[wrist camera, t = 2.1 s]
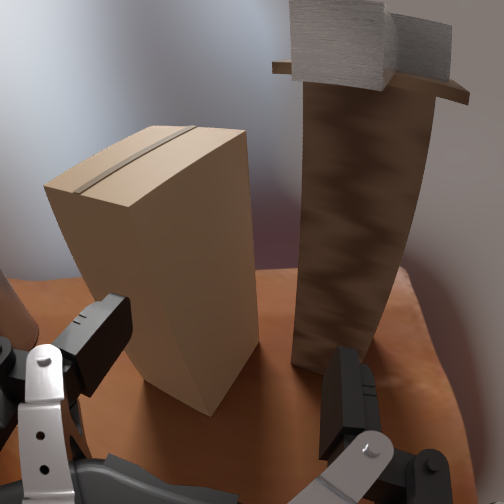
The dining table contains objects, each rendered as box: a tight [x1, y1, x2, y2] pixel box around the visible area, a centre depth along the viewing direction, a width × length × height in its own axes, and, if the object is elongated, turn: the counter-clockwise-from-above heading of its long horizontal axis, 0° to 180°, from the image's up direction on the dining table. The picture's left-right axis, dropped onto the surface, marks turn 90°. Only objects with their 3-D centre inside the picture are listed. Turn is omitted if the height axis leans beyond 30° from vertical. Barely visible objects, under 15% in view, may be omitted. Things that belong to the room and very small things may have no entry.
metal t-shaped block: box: [289, 0, 452, 91], centre depth 13 cm, size 10×17×4 cm, turn 153°
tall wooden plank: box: [272, 59, 470, 375], centre depth 27 cm, size 12×8×32 cm
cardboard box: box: [44, 126, 259, 417], centre depth 28 cm, size 10×12×27 cm
